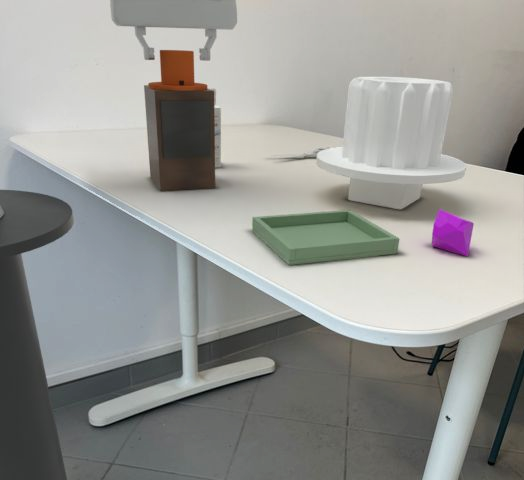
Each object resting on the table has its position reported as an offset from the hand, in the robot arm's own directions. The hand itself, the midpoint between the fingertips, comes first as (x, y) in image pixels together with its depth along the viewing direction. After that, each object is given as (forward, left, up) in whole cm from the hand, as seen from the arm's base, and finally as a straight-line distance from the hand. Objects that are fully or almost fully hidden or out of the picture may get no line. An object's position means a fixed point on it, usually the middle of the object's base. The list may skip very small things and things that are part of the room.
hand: (177, 60), depth 90 cm
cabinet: (0, 0, -20) cm, 20 cm away
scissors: (+34, +18, -20) cm, 43 cm away
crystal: (+27, -44, -20) cm, 56 cm away
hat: (0, 0, -4) cm, 4 cm away
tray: (+11, -37, -20) cm, 44 cm away
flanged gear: (+32, -19, -20) cm, 42 cm away
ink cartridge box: (+7, +14, -20) cm, 26 cm away
